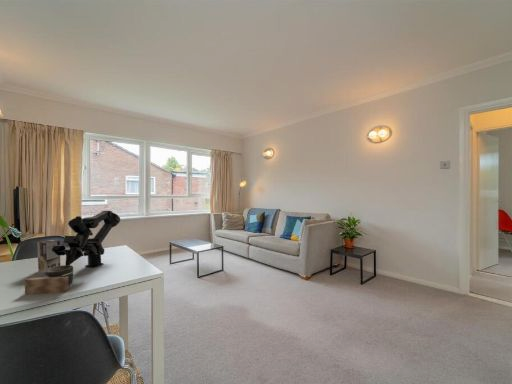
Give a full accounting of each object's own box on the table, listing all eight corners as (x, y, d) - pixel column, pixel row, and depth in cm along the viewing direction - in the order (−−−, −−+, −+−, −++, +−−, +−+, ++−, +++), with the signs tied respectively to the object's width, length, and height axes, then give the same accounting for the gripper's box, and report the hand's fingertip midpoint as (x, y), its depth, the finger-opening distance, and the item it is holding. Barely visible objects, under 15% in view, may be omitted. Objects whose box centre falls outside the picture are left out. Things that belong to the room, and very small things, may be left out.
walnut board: (25, 293, 100) (24, 279, 100) (29, 291, 102) (28, 278, 102) (65, 292, 102) (65, 278, 102) (68, 290, 104) (68, 276, 104)
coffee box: (61, 269, 129) (60, 240, 129) (46, 273, 124) (46, 243, 123) (52, 267, 133) (51, 239, 133) (37, 271, 127) (36, 241, 127)
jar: (76, 283, 110) (76, 267, 110) (48, 291, 102) (48, 273, 102) (69, 278, 116) (69, 263, 116) (42, 285, 108) (42, 269, 108)
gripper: (54, 229, 118) (35, 257, 108) (93, 228, 120) (79, 256, 109) (65, 241, 126) (49, 269, 116) (102, 240, 128) (90, 267, 117)
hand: (66, 265), depth 114 cm, fingers closed
